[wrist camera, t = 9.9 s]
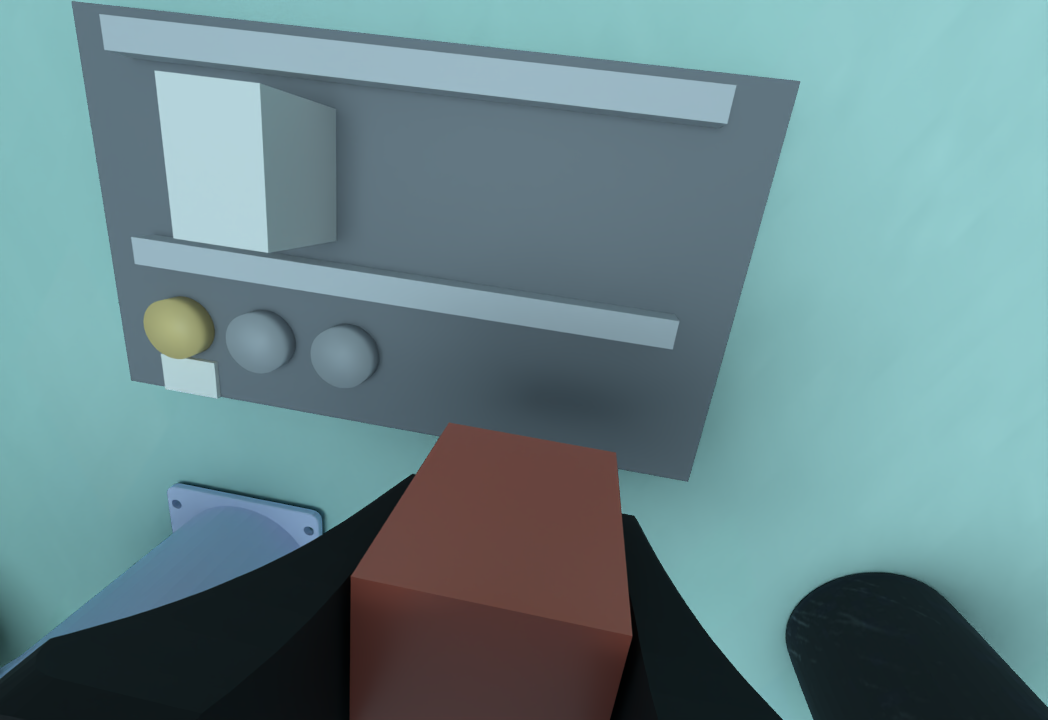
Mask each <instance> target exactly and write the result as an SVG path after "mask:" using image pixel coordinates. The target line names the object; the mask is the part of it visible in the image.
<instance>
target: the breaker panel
mask: <svg viewBox="0 0 1048 720" xmlns="http://www.w3.org/2000/svg"><path fill="white" fill-rule="evenodd" d="M72 8H73V14H74V20H75V27H76V33H77V39H78V46H79V52H80V58H81V65H82V71H83V77H84V84H85V90H86V96H87V103H88V109H89V115H90V122H91V128H92V134H93V141H94V147H95V154H96V160H97V166H98V173H99V179H100V185H101V192H102V198H103V204H104V211H105V217H106V223H107V230H108V236H109V242H110V249H111V255H112V261H113V268H114V274H115V280H116V287H117V293H118V299H119V306H120V312H121V318H122V325H123V331H124V337H125V344H126V350H127V356H128V363H129V369H130V375H131V380H132V381H137V382H143V383H148V384H154V385H159V386H165V389H168V390H173V391H179V392H184V393H190V394H195V395H201V396H206V397H212V398H219V397H225V398H231V399H236V400H242V401H247V402H253V403H258V404H264V405H269V406H275V407H280V408H286V409H291V410H297V411H302V412H308V413H313V414H319V415H324V416H330V417H335V418H341V419H346V420H352V421H357V422H363V423H368V424H374V425H379V426H385V427H390V428H396V429H401V430H407V431H412V432H418V433H423V434H429V435H434V436H441V434H442V433H443V431H444V430H445V428H446V426H447V425H448V423H454V424H460V425H466V426H471V427H477V428H482V429H488V430H493V431H499V432H505V433H510V434H516V435H521V436H527V437H532V438H538V439H544V440H549V441H555V442H560V443H566V444H571V445H577V446H582V447H588V448H594V449H599V450H605V451H610V452H616V457H617V468H618V469H621V470H627V471H632V472H638V473H643V474H649V475H654V476H660V477H665V478H671V479H676V480H682V481H687V482H688V480H689V477H690V473H691V470H692V466H693V462H694V459H695V455H696V452H697V448H698V445H699V441H700V438H701V434H702V430H703V427H704V423H705V420H706V416H707V413H708V409H709V405H710V402H711V398H712V395H713V391H714V388H715V384H716V380H717V377H718V373H719V370H720V366H721V363H722V359H723V356H724V352H725V348H726V345H727V341H728V338H729V334H730V331H731V327H732V323H733V320H734V316H735V313H736V309H737V306H738V302H739V298H740V295H741V291H742V288H743V284H744V281H745V277H746V274H747V270H748V266H749V263H750V259H751V256H752V252H753V249H754V245H755V241H756V238H757V234H758V231H759V227H760V224H761V220H762V216H763V213H764V209H765V206H766V202H767V199H768V195H769V192H770V188H771V184H772V181H773V177H774V174H775V170H776V167H777V163H778V159H779V156H780V152H781V149H782V145H783V142H784V138H785V134H786V131H787V127H788V124H789V120H790V117H791V113H792V110H793V106H794V102H795V99H796V95H797V92H798V88H799V85H800V81H793V80H784V79H775V78H766V77H757V76H748V75H739V74H730V73H721V72H711V71H702V70H693V69H684V68H675V67H666V66H657V65H648V64H639V63H630V62H620V61H611V60H602V59H593V58H584V57H575V56H566V55H557V54H548V53H539V52H529V51H520V50H511V49H502V48H493V47H484V46H475V45H466V44H457V43H448V42H438V41H429V40H420V39H411V38H402V37H393V36H384V35H375V34H366V33H357V32H348V31H338V30H329V29H320V28H311V27H302V26H293V25H284V24H275V23H266V22H257V21H247V20H238V19H229V18H220V17H211V16H202V15H193V14H184V13H175V12H166V11H156V10H147V9H138V8H129V7H120V6H111V5H102V4H93V3H84V2H75V1H72ZM154 70H155V71H163V72H171V73H180V74H188V75H196V76H204V77H213V78H221V79H229V80H237V81H246V82H254V83H261V84H263V85H266V86H269V87H272V88H275V89H278V90H281V91H284V92H287V93H290V94H293V95H296V96H299V97H302V98H305V99H308V100H311V101H314V102H317V103H320V104H323V105H326V106H328V107H331V108H334V109H336V241H333V242H328V243H322V244H316V245H311V246H305V247H299V248H293V249H288V250H282V251H276V252H271V253H266V252H259V251H253V250H246V249H240V248H233V247H226V246H220V245H213V244H207V243H200V242H194V241H187V240H181V239H174V238H173V229H172V221H171V212H170V203H169V194H168V186H167V177H166V168H165V159H164V150H163V142H162V133H161V124H160V115H159V107H158V98H157V89H156V80H155V71H154Z"/></svg>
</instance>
